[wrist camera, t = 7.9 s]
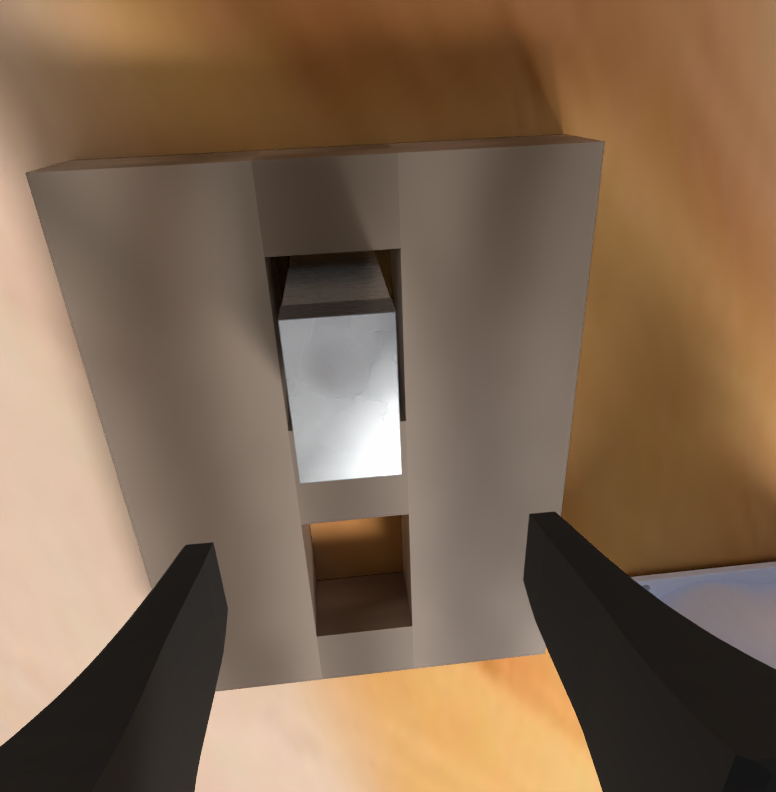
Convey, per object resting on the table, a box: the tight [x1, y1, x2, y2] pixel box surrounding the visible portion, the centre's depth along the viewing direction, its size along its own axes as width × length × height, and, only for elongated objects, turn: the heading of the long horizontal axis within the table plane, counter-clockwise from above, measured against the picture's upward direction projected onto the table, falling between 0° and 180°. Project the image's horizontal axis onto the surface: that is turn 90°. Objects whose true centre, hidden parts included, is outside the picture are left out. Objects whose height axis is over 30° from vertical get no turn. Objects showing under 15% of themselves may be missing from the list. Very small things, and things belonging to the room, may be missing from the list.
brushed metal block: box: [278, 250, 402, 484], centre depth 17 cm, size 3×4×7 cm, turn 2°
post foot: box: [26, 134, 605, 691], centre depth 21 cm, size 15×20×3 cm
